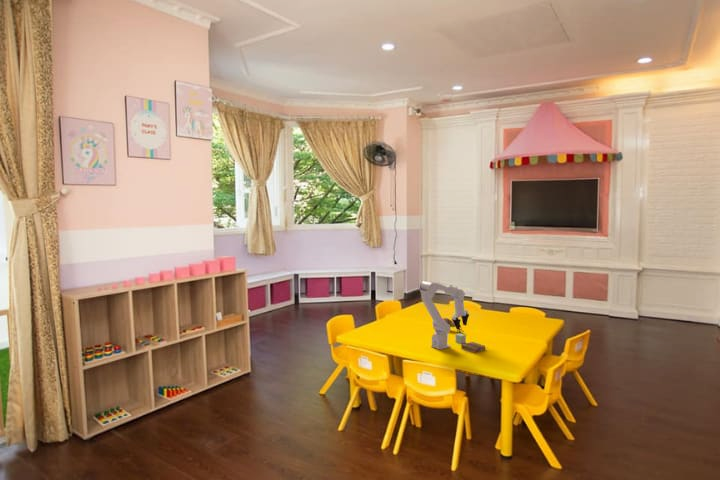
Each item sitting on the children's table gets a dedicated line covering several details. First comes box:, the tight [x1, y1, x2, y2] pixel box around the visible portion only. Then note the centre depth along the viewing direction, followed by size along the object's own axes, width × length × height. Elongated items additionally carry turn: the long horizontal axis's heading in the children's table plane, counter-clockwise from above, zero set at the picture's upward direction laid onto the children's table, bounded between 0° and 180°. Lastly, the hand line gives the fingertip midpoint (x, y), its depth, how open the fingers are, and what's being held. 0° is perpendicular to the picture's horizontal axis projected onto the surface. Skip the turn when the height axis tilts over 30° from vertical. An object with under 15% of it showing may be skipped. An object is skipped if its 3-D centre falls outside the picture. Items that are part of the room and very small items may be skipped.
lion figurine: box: [443, 317, 464, 334], centre depth 311 cm, size 15×5×9 cm, turn 66°
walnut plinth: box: [460, 341, 486, 354], centre depth 273 cm, size 10×10×3 cm
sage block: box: [455, 332, 467, 345], centre depth 286 cm, size 4×4×5 cm
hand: (461, 327), depth 286 cm, fingers open, 7 cm apart
